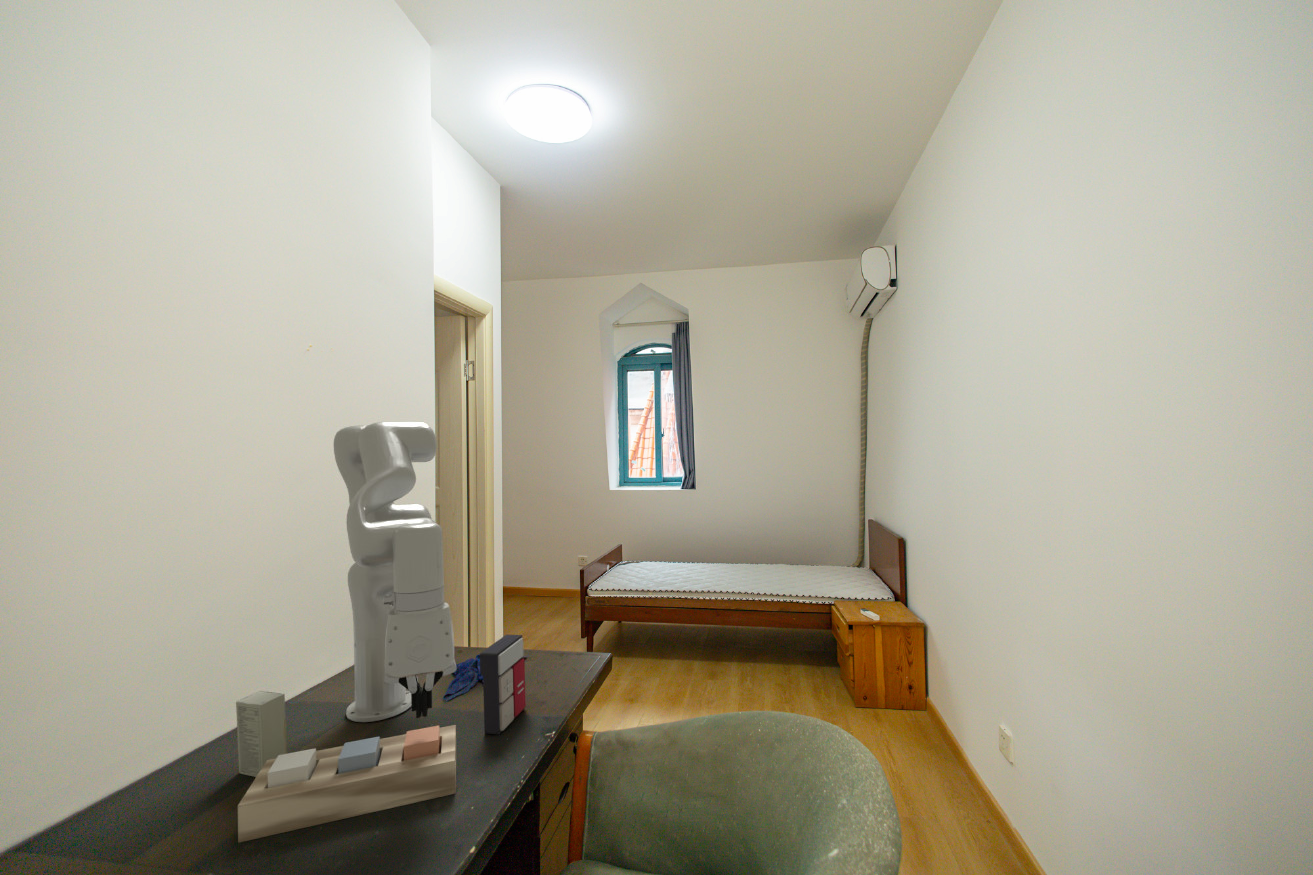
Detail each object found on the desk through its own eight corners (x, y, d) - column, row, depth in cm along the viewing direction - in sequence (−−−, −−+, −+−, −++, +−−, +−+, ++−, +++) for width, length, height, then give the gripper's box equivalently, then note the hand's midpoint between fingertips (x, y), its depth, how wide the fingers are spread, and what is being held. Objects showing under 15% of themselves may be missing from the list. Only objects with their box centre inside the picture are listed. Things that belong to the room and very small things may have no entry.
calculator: (502, 735, 101) (500, 654, 102) (481, 734, 102) (479, 653, 102) (527, 708, 112) (526, 634, 112) (508, 706, 113) (506, 633, 113)
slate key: (345, 761, 87) (344, 742, 87) (380, 755, 88) (379, 736, 89) (338, 779, 82) (338, 759, 82) (375, 771, 84) (375, 751, 84)
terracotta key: (407, 749, 90) (406, 731, 90) (439, 743, 92) (439, 725, 92) (404, 765, 85) (403, 746, 85) (438, 758, 87) (438, 739, 87)
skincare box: (288, 765, 94) (287, 693, 94) (262, 780, 89) (261, 705, 90) (262, 759, 96) (261, 689, 96) (235, 773, 92) (234, 700, 92)
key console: (267, 792, 86) (267, 760, 86) (456, 753, 96) (455, 724, 96) (238, 842, 75) (237, 805, 75) (455, 793, 84) (454, 760, 84)
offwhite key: (278, 774, 84) (278, 755, 84) (316, 767, 85) (316, 748, 86) (267, 793, 79) (267, 772, 79) (307, 785, 81) (307, 765, 81)
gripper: (364, 611, 83) (366, 734, 82) (468, 599, 88) (471, 714, 87) (371, 599, 90) (374, 713, 89) (467, 589, 95) (470, 696, 94)
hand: (422, 713), depth 88 cm, fingers closed
